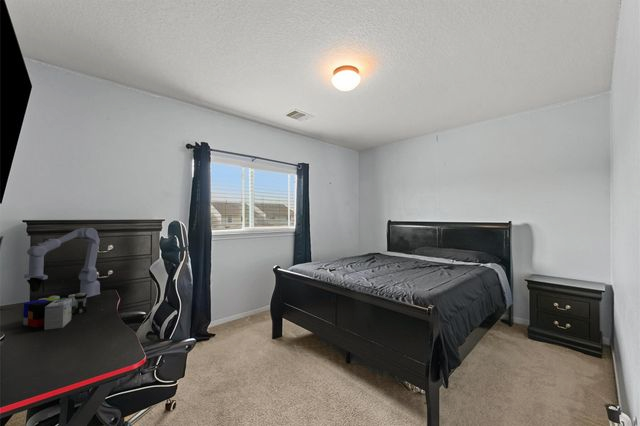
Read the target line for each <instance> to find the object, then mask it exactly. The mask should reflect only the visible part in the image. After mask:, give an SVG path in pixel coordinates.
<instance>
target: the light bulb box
mask: <svg viewBox="0 0 640 426" xmlns="http://www.w3.org/2000/svg"><path fill="white" fill-rule="evenodd" d="M61 299H62V298H61ZM72 307H73V306H72V299H62V300H54V301H53V302H52V303H50V304H49V305H47V306H45V324H44V325H43V327H44V331H46V330H47V331H48V330H55V329H62V328H64V327H65V326H66V325H68V323H69V322H71V320H72Z"/></svg>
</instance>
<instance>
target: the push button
mask: <svg viewBox="0 0 640 426" xmlns="http://www.w3.org/2000/svg"><path fill="white" fill-rule="evenodd" d="M75 294H76V295H75V296H74V297H75V299H76V306H74V308H73V311H71V314H74V315H75V314H81V313H86V312H87V306H86V303H85V298H86V296H87V294H85V293H80V292H77V293H75ZM86 299H87V298H86Z"/></svg>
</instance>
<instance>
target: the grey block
mask: <svg viewBox="0 0 640 426" xmlns="http://www.w3.org/2000/svg"><path fill="white" fill-rule="evenodd" d="M76 294H77V293H75V294H74V293H73V294H69V295H68V299H72V301H73V300H76V299H75V297H74V296H75V295H76Z"/></svg>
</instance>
